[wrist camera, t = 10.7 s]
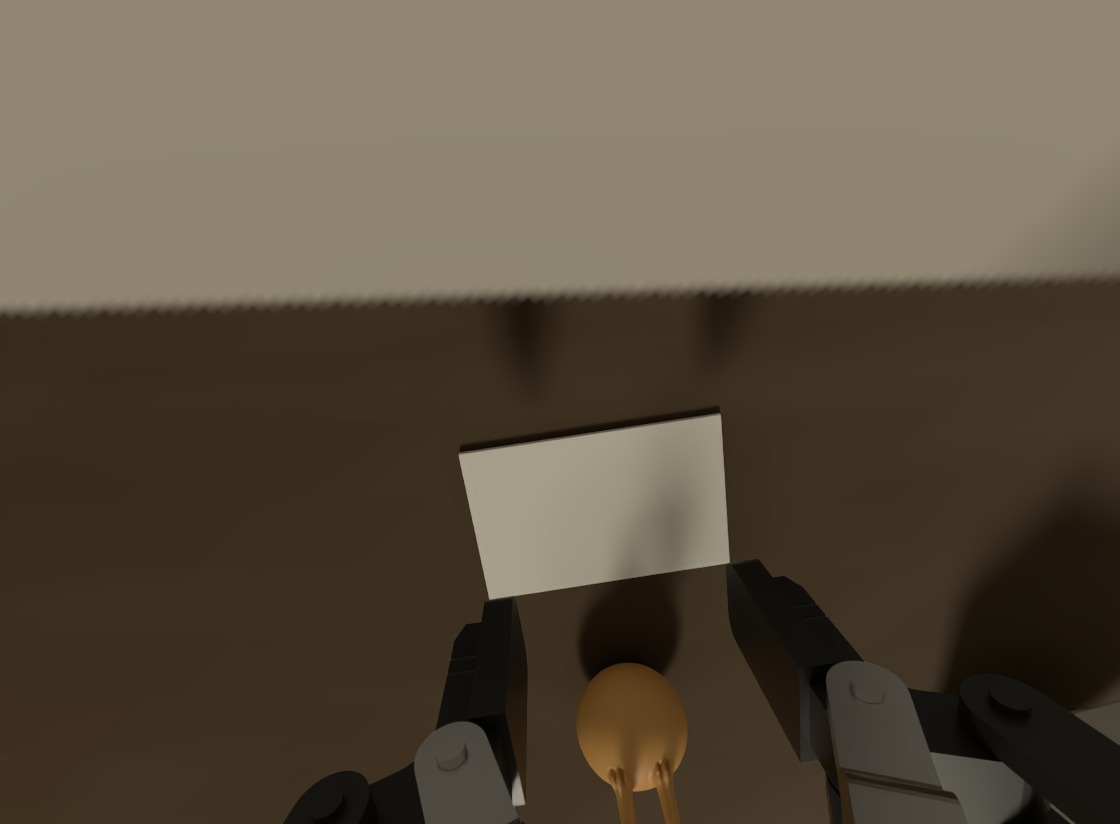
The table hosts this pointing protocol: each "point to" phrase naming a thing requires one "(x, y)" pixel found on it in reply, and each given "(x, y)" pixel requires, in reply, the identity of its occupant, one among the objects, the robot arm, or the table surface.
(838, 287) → the table surface
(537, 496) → the grey mat
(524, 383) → the table surface
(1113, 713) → the die
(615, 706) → the figurine
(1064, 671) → the table surface
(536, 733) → the table surface
